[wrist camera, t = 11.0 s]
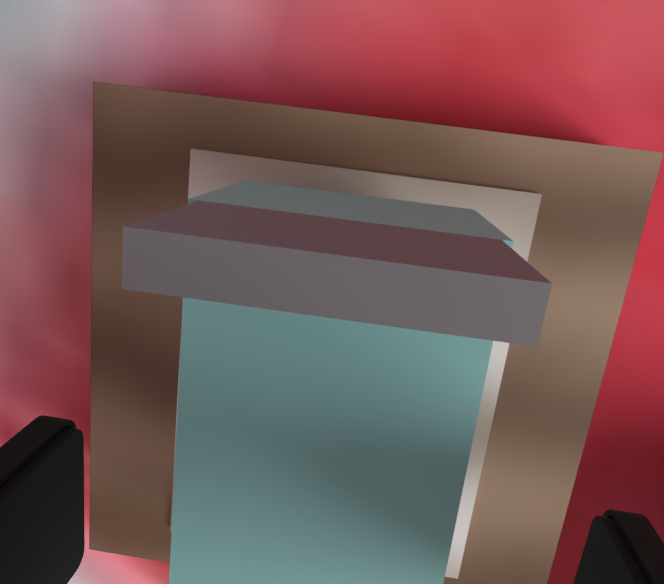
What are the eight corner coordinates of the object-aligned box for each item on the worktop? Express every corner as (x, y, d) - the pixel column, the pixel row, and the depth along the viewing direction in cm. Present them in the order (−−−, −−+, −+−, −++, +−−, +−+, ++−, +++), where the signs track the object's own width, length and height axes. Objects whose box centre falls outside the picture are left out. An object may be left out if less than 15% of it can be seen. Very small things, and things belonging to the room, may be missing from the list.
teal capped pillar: (265, 174, 16) (106, 224, 7) (461, 198, 16) (569, 286, 7) (235, 528, 20) (99, 887, 10) (398, 554, 19) (412, 948, 10)
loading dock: (142, 91, 20) (89, 81, 16) (613, 149, 19) (667, 153, 15) (130, 491, 24) (86, 553, 21) (513, 553, 23) (537, 629, 20)
